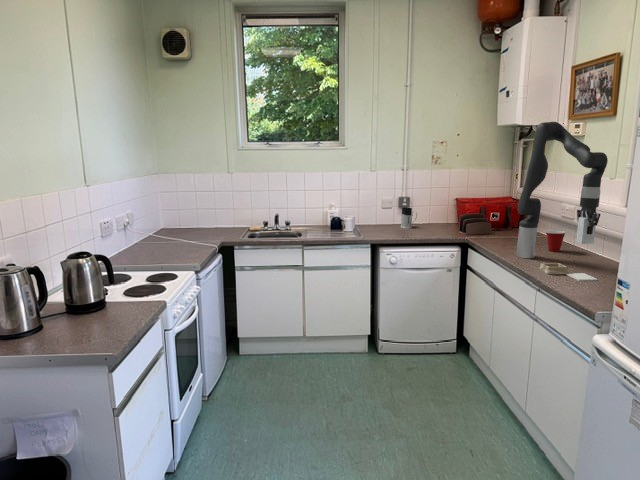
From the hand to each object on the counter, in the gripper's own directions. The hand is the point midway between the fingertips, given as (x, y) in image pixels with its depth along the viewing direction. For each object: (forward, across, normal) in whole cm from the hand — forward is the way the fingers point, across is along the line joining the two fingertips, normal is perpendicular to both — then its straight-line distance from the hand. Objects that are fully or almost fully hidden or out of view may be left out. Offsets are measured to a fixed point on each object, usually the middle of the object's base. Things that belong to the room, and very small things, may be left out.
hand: (585, 233), depth 205 cm
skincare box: (+5, 0, 0) cm, 5 cm away
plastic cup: (+21, -54, +18) cm, 61 cm away
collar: (+21, -10, -8) cm, 25 cm away
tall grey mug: (+21, -136, -50) cm, 146 cm away
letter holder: (+21, -111, -8) cm, 113 cm away
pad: (+22, 0, 0) cm, 22 cm away
